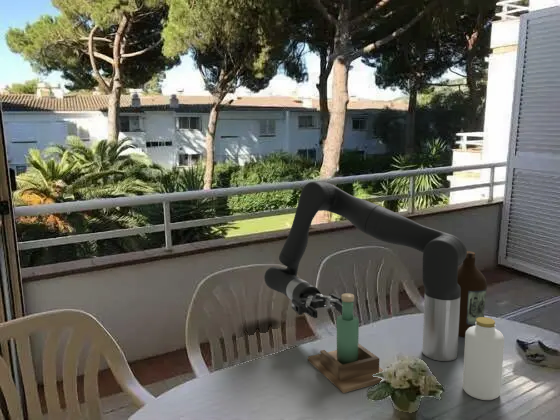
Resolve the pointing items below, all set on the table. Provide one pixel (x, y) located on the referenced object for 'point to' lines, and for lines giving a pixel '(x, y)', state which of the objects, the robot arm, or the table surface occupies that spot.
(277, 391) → the table surface
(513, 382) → the table surface
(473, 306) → the olive oil
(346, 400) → the table surface
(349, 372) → the bottle rest
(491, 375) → the potion bottle
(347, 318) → the bottle
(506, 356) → the table surface
